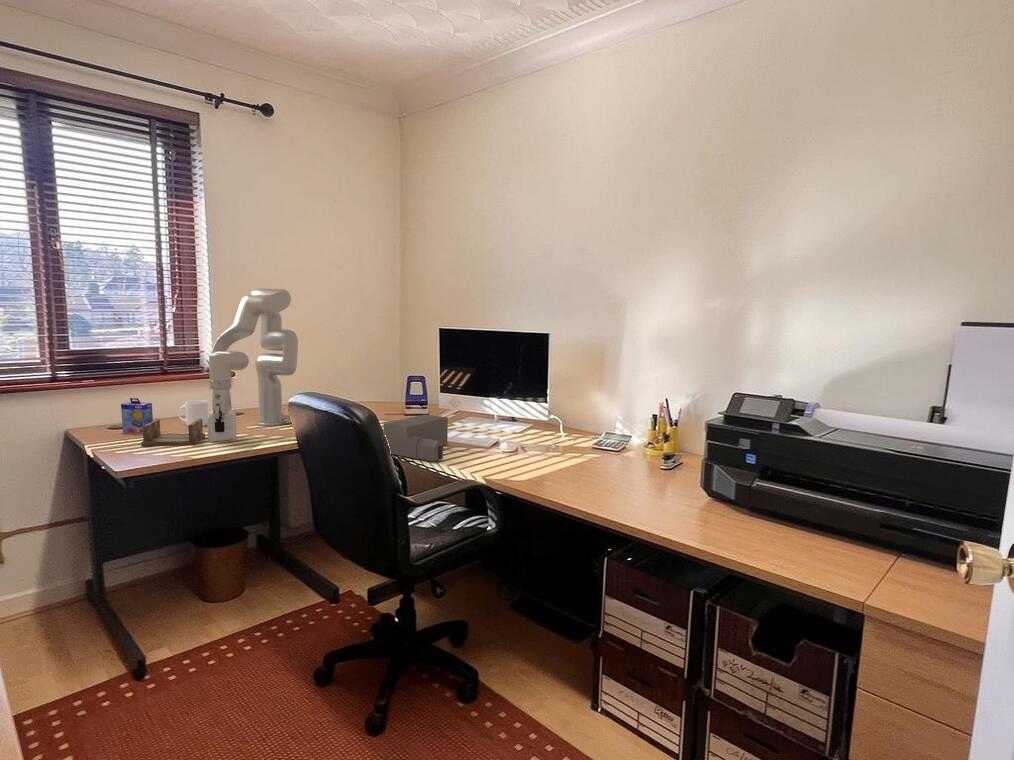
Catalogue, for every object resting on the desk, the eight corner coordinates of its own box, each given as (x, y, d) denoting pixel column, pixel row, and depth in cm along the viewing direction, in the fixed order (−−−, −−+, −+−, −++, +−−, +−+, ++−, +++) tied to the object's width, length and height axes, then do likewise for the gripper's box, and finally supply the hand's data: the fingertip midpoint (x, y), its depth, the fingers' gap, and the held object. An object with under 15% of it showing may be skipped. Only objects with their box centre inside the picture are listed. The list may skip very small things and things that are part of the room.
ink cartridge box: (121, 433, 232) (119, 398, 230) (131, 430, 237) (129, 396, 235) (145, 434, 231) (143, 398, 229) (154, 431, 237) (152, 397, 235)
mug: (183, 423, 254) (182, 399, 253) (211, 424, 255) (211, 400, 254) (174, 427, 245) (173, 402, 244) (203, 427, 246) (202, 403, 245)
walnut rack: (154, 438, 225) (154, 419, 224) (205, 436, 229) (204, 418, 228) (141, 446, 211) (140, 426, 210) (194, 444, 216) (194, 425, 215)
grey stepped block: (433, 461, 201) (433, 431, 200) (383, 452, 213) (383, 423, 212) (472, 448, 223) (473, 420, 222) (425, 440, 235) (425, 414, 233)
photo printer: (234, 437, 229) (233, 407, 228) (238, 439, 226) (237, 408, 225) (206, 441, 222) (205, 409, 221) (209, 443, 219) (208, 411, 218)
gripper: (225, 387, 214) (227, 434, 216) (236, 382, 231) (237, 425, 233) (203, 387, 213) (205, 435, 215) (215, 382, 229) (217, 426, 231)
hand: (222, 429), depth 224 cm, fingers closed on photo printer, 6 cm apart
